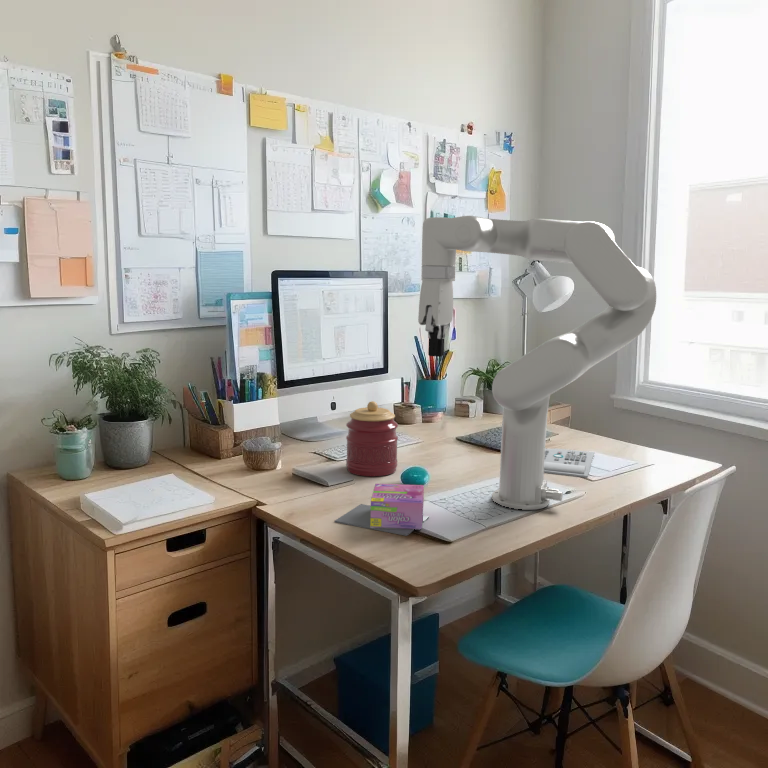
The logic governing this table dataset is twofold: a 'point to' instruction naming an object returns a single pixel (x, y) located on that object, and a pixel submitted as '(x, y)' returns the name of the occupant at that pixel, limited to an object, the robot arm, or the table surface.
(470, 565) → the table surface
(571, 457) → the office telephone
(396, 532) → the mat
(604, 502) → the table surface
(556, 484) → the table surface
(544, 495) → the robot arm
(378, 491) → the box
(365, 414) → the canister
